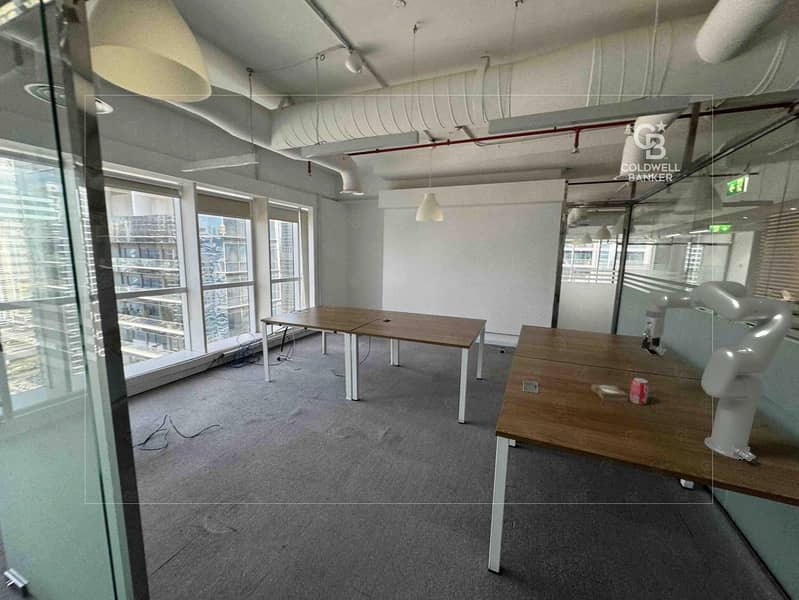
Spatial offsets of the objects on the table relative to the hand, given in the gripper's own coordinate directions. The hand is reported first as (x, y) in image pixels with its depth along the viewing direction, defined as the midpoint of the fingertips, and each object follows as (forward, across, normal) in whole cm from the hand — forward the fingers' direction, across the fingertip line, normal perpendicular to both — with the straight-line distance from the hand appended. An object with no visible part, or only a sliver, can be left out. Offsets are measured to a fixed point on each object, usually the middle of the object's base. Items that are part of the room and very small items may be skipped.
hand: (650, 347), depth 156 cm
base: (+27, -14, +9) cm, 32 cm away
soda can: (+28, -9, -2) cm, 29 cm away
